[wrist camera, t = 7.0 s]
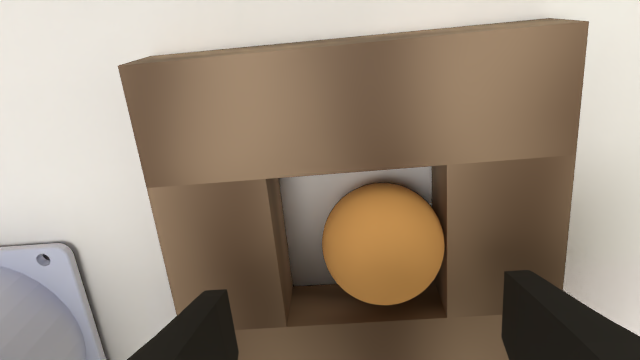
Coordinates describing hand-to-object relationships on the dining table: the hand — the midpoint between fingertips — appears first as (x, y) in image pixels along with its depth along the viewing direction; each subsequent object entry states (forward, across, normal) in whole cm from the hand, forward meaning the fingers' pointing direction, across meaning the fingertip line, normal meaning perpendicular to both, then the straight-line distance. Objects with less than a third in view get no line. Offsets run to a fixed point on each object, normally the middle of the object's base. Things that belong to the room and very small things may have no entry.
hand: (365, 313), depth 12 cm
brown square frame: (+6, 0, 0) cm, 6 cm away
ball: (+4, -1, 0) cm, 4 cm away
